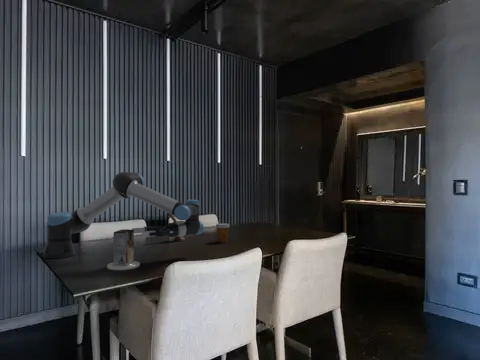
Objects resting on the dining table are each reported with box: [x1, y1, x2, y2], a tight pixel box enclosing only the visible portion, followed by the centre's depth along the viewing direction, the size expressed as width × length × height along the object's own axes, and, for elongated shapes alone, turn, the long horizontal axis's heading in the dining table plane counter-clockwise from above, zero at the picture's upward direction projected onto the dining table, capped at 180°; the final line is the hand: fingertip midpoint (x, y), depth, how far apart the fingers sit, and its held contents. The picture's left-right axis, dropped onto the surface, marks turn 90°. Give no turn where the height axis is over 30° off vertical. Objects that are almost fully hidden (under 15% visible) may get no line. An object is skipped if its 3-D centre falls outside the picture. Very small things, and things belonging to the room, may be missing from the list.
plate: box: [106, 260, 141, 271], centre depth 167 cm, size 15×15×1 cm
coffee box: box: [113, 229, 135, 266], centre depth 167 cm, size 9×6×16 cm
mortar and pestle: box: [167, 212, 186, 242], centre depth 238 cm, size 12×9×20 cm
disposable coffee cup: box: [215, 222, 230, 243], centre depth 235 cm, size 10×10×12 cm
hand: (137, 232), depth 172 cm, fingers open, 13 cm apart
